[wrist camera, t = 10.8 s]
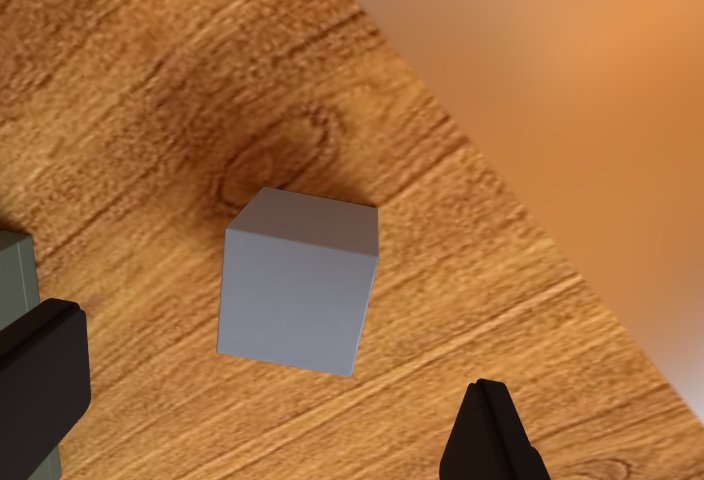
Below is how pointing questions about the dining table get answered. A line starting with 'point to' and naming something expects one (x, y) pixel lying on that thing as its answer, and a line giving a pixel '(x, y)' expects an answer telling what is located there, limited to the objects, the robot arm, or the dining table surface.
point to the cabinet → (22, 308)
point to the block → (297, 281)
